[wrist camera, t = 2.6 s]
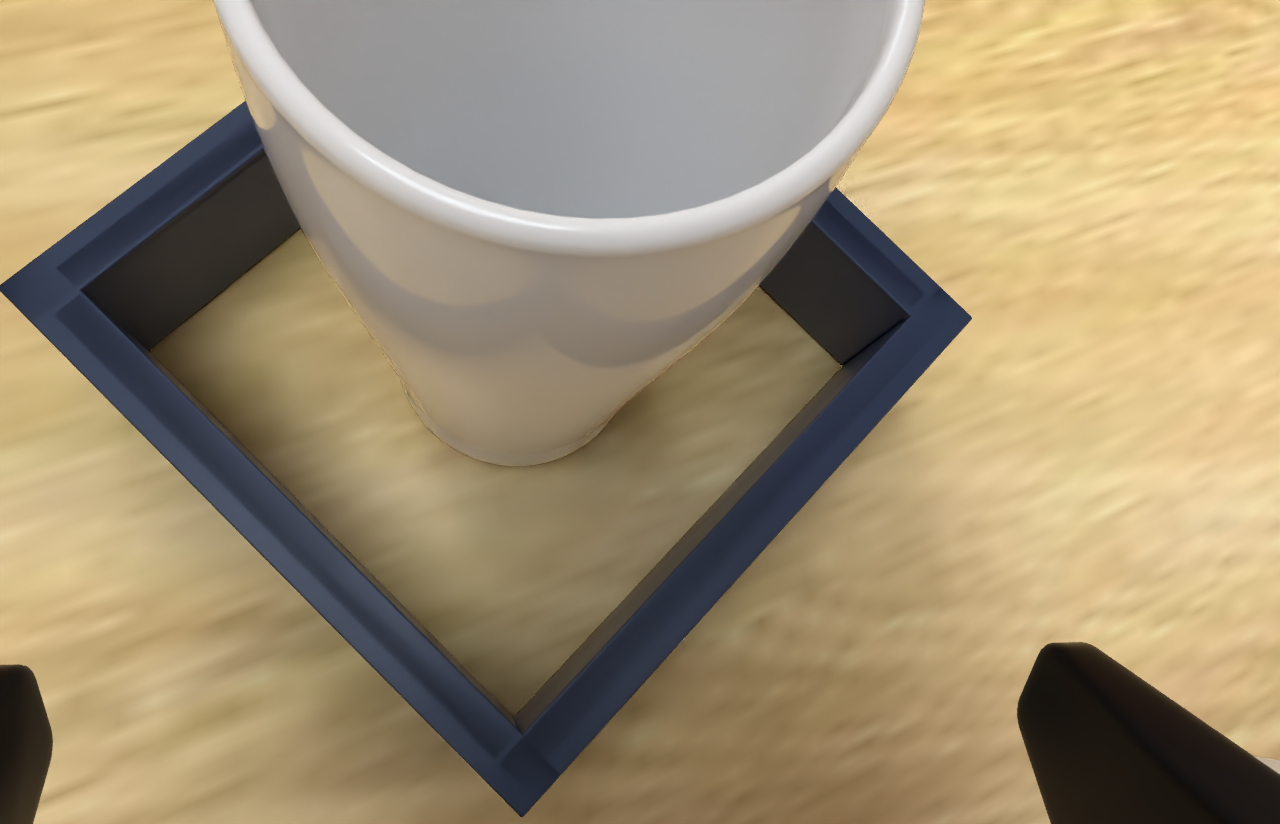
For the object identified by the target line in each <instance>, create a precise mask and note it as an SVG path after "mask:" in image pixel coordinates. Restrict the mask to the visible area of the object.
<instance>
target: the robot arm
mask: <svg viewBox="0 0 1280 824" xmlns="http://www.w3.org/2000/svg"><path fill="white" fill-rule="evenodd" d="M1017 717H1018V724H1019V728H1020V731H1021V734H1022V737H1023V740H1024V743H1025V746H1026V749H1027V752H1028V756H1029V759H1030V762H1031V765H1032V768H1033V771H1034V774H1035V777H1036V780H1037V783H1038V786H1039V789H1040V792H1041V795H1042V798H1043V801H1044V804H1045V807H1046V810H1047V813H1048V816H1049V819H1050V822H1051V824H1280V774H1279V773H1277V772H1276V771H1274V770H1273V769H1271V768H1270V767H1268V766H1267V765H1266V764H1264V763H1263V762H1261V761H1260V760H1258V759H1257V758H1255V757H1254V756H1253V755H1251V754H1250V753H1248V752H1247V751H1245V750H1244V749H1242V748H1241V747H1239V746H1238V745H1237V744H1235V743H1234V742H1232V741H1231V740H1229V739H1228V738H1226V737H1225V736H1224V735H1222V734H1221V733H1219V732H1218V731H1216V730H1215V729H1213V728H1212V727H1211V726H1209V725H1208V724H1206V723H1205V722H1203V721H1202V720H1200V719H1199V718H1197V717H1196V716H1195V715H1193V714H1192V713H1190V712H1189V711H1187V710H1186V709H1184V708H1183V707H1182V706H1180V705H1179V704H1177V703H1176V702H1174V701H1173V700H1171V699H1170V698H1169V697H1167V696H1166V695H1164V694H1163V693H1161V692H1160V691H1158V690H1157V689H1155V688H1154V687H1153V686H1151V685H1150V684H1148V683H1147V682H1145V681H1144V680H1142V679H1141V678H1140V677H1138V676H1137V675H1135V674H1134V673H1132V672H1131V671H1129V670H1128V669H1126V668H1125V667H1124V666H1122V665H1121V664H1119V663H1118V662H1116V661H1115V660H1113V659H1112V658H1111V657H1109V656H1108V655H1106V654H1105V653H1103V652H1102V651H1100V650H1099V649H1097V648H1096V647H1094V646H1093V645H1090V644H1088V643H1083V642H1071V643H1050V644H1047V645H1046V646H1045V647H1044V648H1042V649H1041V651H1040V652H1039V654H1038V656H1037V659H1036V661H1035V663H1034V666H1033V668H1032V670H1031V673H1030V675H1029V677H1028V679H1027V682H1026V684H1025V686H1024V689H1023V691H1022V693H1021V696H1020V698H1019V701H1018V708H1017ZM52 747H53V738H52V731H51V727H50V723H49V720H48V717H47V714H46V710H45V707H44V704H43V700H42V697H41V694H40V691H39V687H38V684H37V681H36V678H35V676H34V673H33V672H32V671H31V670H30V668H28V667H27V666H23V665H0V824H33V822H34V818H35V815H36V811H37V807H38V804H39V800H40V797H41V793H42V790H43V786H44V782H45V779H46V775H47V772H48V768H49V765H50V761H51V755H52Z"/></svg>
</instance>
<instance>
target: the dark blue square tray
mask: <svg viewBox="0 0 1280 824" xmlns="http://www.w3.org/2000/svg"><path fill="white" fill-rule="evenodd" d="M299 228H300V226H299V224H298V222H297V220H296V218H295V216H294V214H293V212H292V210H291V208H290V206H289V204H288V202H287V200H286V198H285V195H284V193H283V191H282V189H281V187H280V185H279V183H278V181H277V178H276V176H275V174H274V172H273V170H272V168H271V165H270V163H269V160H268V158H267V155H266V153H265V151H264V148H263V146H262V143H261V141H260V138H259V135H258V133H257V130H256V127H255V125H254V122H253V119H252V117H251V114H250V111H249V108H248V105H247V103H246V101H245V102H243V103H242V104H241V105H239V106H238V107H237V108H235V109H234V110H233V111H231V112H230V113H229V114H227V115H226V116H225V117H223V118H222V119H221V120H219V121H218V122H217V123H215V124H214V125H213V126H211V127H210V128H209V129H207V130H206V131H205V132H203V133H202V134H201V135H199V136H198V137H197V138H195V139H194V140H193V141H191V142H190V143H189V144H187V145H186V146H185V147H183V148H182V149H181V150H179V151H178V152H177V153H175V154H174V155H173V156H171V157H170V158H169V159H167V160H166V161H165V162H163V163H162V164H161V165H159V166H158V167H157V168H155V169H154V170H153V171H151V172H150V173H149V174H147V175H146V176H145V177H143V178H142V179H141V180H139V181H138V182H137V183H135V184H134V185H133V186H131V187H130V188H129V189H127V190H126V191H125V192H123V193H122V194H121V195H119V196H118V197H117V198H115V199H114V200H113V201H111V202H110V203H109V204H107V205H106V206H105V207H104V208H102V209H101V210H100V211H98V212H97V213H96V214H94V215H93V216H92V217H90V218H89V219H88V220H86V221H85V222H84V223H82V224H81V225H80V226H78V227H77V228H76V229H74V230H73V231H72V232H70V233H69V234H68V235H66V236H65V237H64V238H62V239H61V240H60V241H58V242H57V243H56V244H54V245H53V246H52V247H50V248H49V249H48V250H46V251H45V252H44V253H42V254H41V255H40V256H38V257H37V258H36V259H34V260H33V261H32V262H30V263H29V264H28V265H26V266H25V267H24V268H22V269H21V270H20V271H18V272H17V273H16V274H14V275H13V276H12V277H10V278H9V279H8V280H6V281H5V282H4V283H2V284H1V285H0V291H1V292H2V293H3V294H4V295H5V296H6V297H7V298H8V299H9V300H10V301H11V302H12V303H13V304H14V305H15V306H16V307H17V309H18V310H19V311H20V312H21V313H22V314H23V315H24V316H25V317H26V318H27V319H28V320H29V321H30V322H31V323H32V324H33V325H34V326H35V327H36V328H37V329H38V330H39V331H40V332H41V333H42V334H43V335H44V336H45V337H46V338H47V339H48V340H49V341H50V342H51V343H52V344H53V345H54V346H55V347H56V348H57V349H58V350H59V351H60V352H61V353H62V354H63V355H64V356H65V357H66V358H67V359H68V360H69V361H70V362H71V363H72V364H73V365H74V366H75V367H76V368H77V369H78V370H79V371H80V372H81V373H82V374H83V375H84V376H85V377H86V378H87V379H88V380H89V381H90V382H91V383H92V384H93V385H94V386H95V387H96V388H97V389H98V390H99V391H100V392H101V393H102V394H103V395H104V396H105V397H106V398H107V399H108V400H109V401H110V402H111V403H112V404H113V405H114V406H115V408H116V409H117V410H118V411H119V412H120V413H121V414H122V415H123V416H124V417H125V418H126V419H127V420H128V421H129V422H130V423H131V424H132V425H133V426H134V427H135V428H136V429H137V430H138V431H139V432H140V433H141V434H142V435H143V436H144V437H145V438H146V439H147V440H148V441H149V442H150V443H151V444H152V445H153V446H154V447H155V448H156V449H157V450H158V451H159V452H160V453H161V454H162V455H163V456H164V457H165V458H166V459H167V460H168V461H169V462H170V463H171V464H172V465H173V466H174V467H175V468H176V469H177V470H178V471H179V472H180V473H181V474H182V475H183V476H184V477H185V478H186V479H187V480H188V481H189V482H190V483H191V484H192V485H193V486H194V487H195V488H196V489H197V490H198V491H199V492H200V493H201V494H202V495H203V496H204V497H205V498H206V499H207V500H208V501H209V502H210V503H211V504H212V506H213V507H214V508H215V509H216V510H217V511H218V512H219V513H220V514H221V515H222V516H223V517H224V518H225V519H226V520H227V521H228V522H229V523H230V524H231V525H232V526H233V527H234V528H235V529H236V530H237V531H238V532H239V533H240V534H241V535H242V536H243V537H244V538H245V539H246V540H247V541H248V542H249V543H250V544H251V545H252V546H253V547H254V548H255V549H256V550H257V551H258V552H259V553H260V554H261V555H262V556H263V557H264V558H265V559H266V560H267V561H268V562H269V563H270V564H271V565H272V566H273V567H274V568H275V569H276V570H277V571H278V572H279V573H280V574H281V575H282V576H283V577H284V578H285V579H286V580H287V581H288V582H289V583H290V584H291V585H292V586H293V587H294V588H295V589H296V590H297V591H298V592H299V593H300V594H301V595H302V596H303V597H304V598H305V599H306V600H307V601H308V602H309V603H310V605H311V606H312V607H313V608H314V609H315V610H316V611H317V612H318V613H319V614H320V615H321V616H322V617H323V618H324V619H325V620H326V621H327V622H328V623H329V624H330V625H331V626H332V627H333V628H334V629H335V630H336V631H337V632H338V633H339V634H340V635H341V636H342V637H343V638H344V639H345V640H346V641H347V642H348V643H349V644H350V645H351V646H352V647H353V648H354V649H355V650H356V651H357V652H358V653H359V654H360V655H361V656H362V657H363V658H364V659H365V660H366V661H367V662H368V663H369V664H370V665H371V666H372V667H373V668H374V669H375V670H376V671H377V672H378V673H379V674H380V675H381V676H382V677H383V678H384V679H385V680H386V681H387V682H388V683H389V684H390V685H391V686H392V687H393V688H394V689H395V690H396V691H397V692H398V693H399V694H400V695H401V696H402V697H403V698H404V699H405V700H406V701H407V702H408V704H409V705H410V706H411V707H412V708H413V709H414V710H415V711H416V712H417V713H418V714H419V715H420V716H421V717H422V718H423V719H424V720H425V721H426V722H427V723H428V724H429V725H430V726H431V727H432V728H433V729H434V730H435V731H436V732H437V733H438V734H439V735H440V736H441V737H442V738H443V739H444V740H445V741H446V742H447V743H448V744H449V745H450V746H451V747H452V748H453V749H454V750H455V751H456V752H457V753H458V754H459V755H460V756H461V757H462V758H463V759H464V760H465V761H466V762H467V763H468V764H469V765H470V766H471V767H472V768H473V769H474V770H475V771H476V772H477V773H478V774H479V775H480V776H481V777H482V778H483V779H484V780H485V781H486V782H487V783H488V784H489V785H490V786H491V787H492V788H493V789H494V790H495V791H496V792H497V793H498V794H499V795H500V796H501V797H502V798H503V799H504V800H505V802H506V803H507V804H508V805H509V806H510V807H511V808H512V809H513V810H514V811H515V812H516V813H517V814H518V815H519V816H520V817H523V816H524V815H525V814H526V813H527V812H528V811H529V810H530V809H531V808H532V806H533V805H534V804H535V803H536V802H537V801H538V800H539V799H540V798H541V796H542V795H543V794H544V793H545V792H546V791H547V790H548V789H549V788H550V786H551V785H552V784H553V783H554V782H555V781H556V780H557V779H558V778H559V776H560V775H561V774H562V773H563V772H564V771H565V770H566V769H567V768H568V766H569V765H570V764H571V763H572V762H573V761H574V760H575V759H576V758H577V756H578V755H579V754H580V753H581V752H582V751H583V750H584V749H585V748H586V747H587V745H588V744H589V743H590V742H591V741H592V740H593V739H594V738H595V737H596V735H597V734H598V733H599V732H600V731H601V730H602V729H603V728H604V727H605V725H606V724H607V723H608V722H609V721H610V720H611V719H612V718H613V717H614V715H615V714H616V713H617V712H618V711H619V710H620V709H621V708H622V707H623V705H624V704H625V703H626V702H627V701H628V700H629V699H630V698H631V697H632V695H633V694H634V693H635V692H636V691H637V690H638V689H639V688H640V687H641V685H642V684H643V683H644V682H645V681H646V680H647V679H648V678H649V677H650V676H651V674H652V673H653V672H654V671H655V670H656V669H657V668H658V667H659V666H660V664H661V663H662V662H663V661H664V660H665V659H666V658H667V657H668V656H669V654H670V653H671V652H672V651H673V650H674V649H675V648H676V647H677V646H678V644H679V643H680V642H681V641H682V640H683V639H684V638H685V637H686V636H687V634H688V633H689V632H690V631H691V630H692V629H693V628H694V627H695V626H696V624H697V623H698V622H699V621H700V620H701V619H702V618H703V617H704V616H705V614H706V613H707V612H708V611H709V610H710V609H711V608H712V607H713V606H714V604H715V603H716V602H717V601H718V600H719V599H720V598H721V597H722V596H723V595H724V593H725V592H726V591H727V590H728V589H729V588H730V587H731V586H732V585H733V583H734V582H735V581H736V580H737V579H738V578H739V577H740V576H741V575H742V573H743V572H744V571H745V570H746V569H747V568H748V567H749V566H750V565H751V563H752V562H753V561H754V560H755V559H756V558H757V557H758V556H759V555H760V553H761V552H762V551H763V550H764V549H765V548H766V547H767V546H768V545H769V543H770V542H771V541H772V540H773V539H774V538H775V537H776V536H777V535H778V533H779V532H780V531H781V530H782V529H783V528H784V527H785V526H786V525H787V524H788V522H789V521H790V520H791V519H792V518H793V517H794V516H795V515H796V514H797V512H798V511H799V510H800V509H801V508H802V507H803V506H804V505H805V504H806V502H807V501H808V500H809V499H810V498H811V497H812V496H813V495H814V494H815V492H816V491H817V490H818V489H819V488H820V487H821V486H822V485H823V484H824V482H825V481H826V480H827V479H828V478H829V477H830V476H831V475H832V474H833V472H834V471H835V470H836V469H837V468H838V467H839V466H840V465H841V464H842V462H843V461H844V460H845V459H846V458H847V457H848V456H849V455H850V454H851V453H852V451H853V450H854V449H855V448H856V447H857V446H858V445H859V444H860V443H861V441H862V440H863V439H864V438H865V437H866V436H867V435H868V434H869V433H870V431H871V430H872V429H873V428H874V427H875V426H876V425H877V424H878V423H879V421H880V420H881V419H882V418H883V417H884V416H885V415H886V414H887V413H888V411H889V410H890V409H891V408H892V407H893V406H894V405H895V404H896V403H897V401H898V400H899V399H900V398H901V397H902V396H903V395H904V394H905V393H906V391H907V390H908V389H909V388H910V387H911V386H912V385H913V384H914V383H915V382H916V380H917V379H918V378H919V377H920V376H921V375H922V374H923V373H924V372H925V370H926V369H927V368H928V367H929V366H930V365H931V364H932V363H933V362H934V360H935V359H936V358H937V357H938V356H939V355H940V354H941V353H942V352H943V350H944V349H945V348H946V347H947V346H948V345H949V344H950V343H951V342H952V340H953V339H954V338H955V337H956V336H957V335H958V334H959V333H960V332H961V330H962V329H963V328H964V327H965V326H966V325H967V324H968V323H969V322H970V320H971V319H972V317H971V316H970V315H969V314H968V313H967V312H966V311H965V310H964V309H963V308H962V307H961V306H959V305H958V304H957V303H956V302H955V301H954V300H953V299H952V298H951V297H950V296H949V295H948V294H947V293H946V292H945V291H944V290H943V289H942V288H941V287H940V286H939V285H937V284H936V283H935V282H934V281H933V280H932V279H931V278H930V277H929V276H928V275H927V274H926V273H925V272H924V271H923V270H922V269H921V268H920V267H919V266H918V265H917V264H915V263H914V262H913V261H912V260H911V259H910V258H909V257H908V256H907V255H906V254H905V253H904V252H903V251H902V250H901V249H900V248H899V247H898V246H897V245H896V244H894V243H893V242H892V241H891V240H890V239H889V238H888V237H887V236H886V235H885V234H884V233H883V232H882V231H881V230H880V229H879V228H878V227H877V226H876V225H875V224H874V223H872V222H871V221H870V220H869V219H868V218H867V217H866V216H865V215H864V214H863V213H862V212H861V211H860V210H859V209H858V208H857V207H856V206H855V205H854V204H853V203H852V202H850V201H849V200H848V199H847V198H846V197H845V196H844V195H843V194H842V193H841V192H840V191H839V190H838V189H837V188H836V187H835V189H834V190H833V192H832V193H831V194H830V196H829V197H828V199H827V200H826V202H825V203H824V204H823V206H822V207H821V209H820V210H819V212H818V213H817V215H816V216H815V217H814V219H813V220H812V222H811V223H810V224H809V226H808V227H807V228H806V230H805V231H804V232H803V234H802V235H801V236H800V238H799V239H798V240H797V241H796V243H795V244H794V245H793V247H792V248H791V249H790V250H789V252H788V253H787V254H786V255H785V256H784V258H783V259H782V260H781V261H780V262H779V263H778V265H777V266H776V267H775V268H774V269H773V271H772V272H771V273H770V274H769V275H768V276H767V277H766V279H765V280H764V281H763V282H762V283H761V284H760V286H761V287H762V288H763V289H764V290H765V291H766V292H767V293H768V294H769V295H770V296H771V297H772V298H773V299H774V300H775V301H776V302H777V303H778V304H779V305H781V306H782V307H783V308H784V309H785V310H786V311H787V312H788V313H789V314H790V315H791V316H792V317H793V318H794V319H795V320H796V321H797V322H798V323H799V324H800V325H801V326H802V327H803V328H804V329H805V330H806V331H807V332H809V333H810V334H811V335H812V336H813V337H814V338H815V339H816V340H817V341H818V342H819V343H820V344H821V345H822V346H823V347H824V348H825V349H826V350H827V351H828V352H829V353H830V354H831V355H832V356H833V357H834V358H835V359H837V360H838V361H839V362H840V363H841V364H844V365H843V367H842V368H841V369H840V370H839V371H838V372H837V373H836V374H835V375H834V376H833V377H832V378H831V379H830V380H829V381H828V383H827V384H826V385H825V386H824V387H823V388H822V389H821V390H820V391H819V392H818V393H817V394H816V395H815V396H814V397H813V399H812V400H811V401H810V402H809V403H808V404H807V405H806V406H805V407H804V408H803V409H802V410H801V411H800V412H799V413H798V415H797V416H796V417H795V418H794V419H793V420H792V421H791V422H790V423H789V424H788V425H787V426H786V427H785V428H784V429H783V431H782V432H781V433H780V434H779V435H778V436H777V437H776V438H775V439H774V440H773V441H772V442H771V443H770V444H769V445H768V447H767V448H766V449H765V450H764V451H763V452H762V453H761V454H760V455H759V456H758V457H757V458H756V459H755V460H754V461H753V463H752V464H751V465H750V466H749V467H748V468H747V469H746V470H745V471H744V472H743V473H742V474H741V475H740V476H739V477H738V479H737V480H736V481H735V482H734V483H733V484H732V485H731V486H730V487H729V488H728V489H727V490H726V491H725V492H724V493H723V495H722V496H721V497H720V498H719V499H718V500H717V501H716V502H715V503H714V504H713V505H712V506H711V507H710V508H709V509H708V511H707V512H706V513H705V514H704V515H703V516H702V517H701V518H700V519H699V520H698V521H697V522H696V523H695V524H694V525H693V527H692V528H691V529H690V530H689V531H688V532H687V533H686V534H685V535H684V536H683V537H682V538H681V539H680V540H679V541H678V543H677V544H676V545H675V546H674V547H673V548H672V549H671V550H670V551H669V552H668V553H667V554H666V555H665V556H664V557H663V559H662V560H661V561H660V562H659V563H658V564H657V565H656V566H655V567H654V568H653V569H652V570H651V571H650V572H649V573H648V575H647V576H646V577H645V578H644V579H643V580H642V581H641V582H640V583H639V584H638V585H637V586H636V587H635V588H634V589H633V591H632V592H631V593H630V594H629V595H628V596H627V597H626V598H625V599H624V600H623V601H622V602H621V603H620V604H619V605H618V607H617V608H616V609H615V610H614V611H613V612H612V613H611V614H610V615H609V616H608V617H607V618H606V619H605V620H604V621H603V623H602V624H601V625H600V626H599V627H598V628H597V629H596V630H595V631H594V632H593V633H592V634H591V635H590V636H589V638H588V639H587V640H586V641H585V642H584V643H583V644H582V645H581V646H580V647H579V648H578V649H577V650H576V651H575V652H574V654H573V655H572V656H571V657H570V658H569V659H568V660H567V661H566V662H565V663H564V664H563V665H562V666H561V667H560V668H559V670H558V671H557V672H556V673H555V674H554V675H553V676H552V677H551V678H550V679H549V680H548V681H547V682H546V683H545V684H544V686H543V687H542V688H541V689H540V690H539V691H538V692H537V693H536V694H535V695H534V696H533V697H532V698H531V699H530V700H529V702H528V703H527V704H526V705H525V706H524V707H523V708H522V709H521V710H520V711H519V712H518V713H517V714H516V715H515V716H514V718H513V716H512V715H511V714H510V713H509V712H508V711H507V710H506V709H505V708H504V707H503V706H502V705H501V704H500V703H499V702H498V701H497V700H496V699H495V698H494V697H493V696H492V695H491V694H490V693H489V692H488V691H487V690H486V689H485V688H484V687H483V686H482V685H481V684H480V683H479V682H478V681H477V680H476V679H475V678H474V677H473V676H472V675H471V674H470V673H469V672H468V671H467V670H466V669H465V668H464V667H463V666H462V665H461V664H460V663H459V662H458V661H457V659H456V658H455V657H454V656H453V655H452V654H451V653H450V652H449V651H448V650H447V649H446V648H445V647H444V646H443V645H442V644H441V643H440V642H439V641H438V640H437V639H436V638H435V637H434V636H433V635H432V634H431V633H430V632H429V631H428V630H427V629H426V628H425V627H424V626H423V625H422V624H421V623H420V622H419V621H418V620H417V619H416V618H415V617H414V616H413V615H412V614H411V613H410V612H409V611H408V610H407V609H406V608H405V607H404V606H403V605H402V604H401V603H400V602H399V601H398V600H397V599H396V598H395V597H394V596H393V595H392V594H391V593H390V592H389V591H388V590H387V589H386V588H385V587H384V586H383V585H382V584H381V583H380V582H379V581H378V580H377V579H376V578H375V577H374V576H373V575H372V574H371V573H370V572H369V571H368V570H367V569H366V568H365V567H364V566H363V565H362V564H361V563H360V562H359V561H358V560H357V559H356V558H355V557H354V556H353V555H352V554H351V553H350V552H349V551H348V550H347V549H346V548H345V547H344V546H343V545H342V544H341V543H340V542H339V541H338V540H337V539H336V538H335V537H334V536H333V535H332V534H331V533H330V532H329V531H328V530H327V529H326V528H325V527H324V526H323V525H322V524H321V523H320V522H319V521H318V520H317V519H316V518H315V517H314V516H313V515H312V514H311V513H310V512H309V511H308V510H307V509H306V508H305V507H304V506H303V505H302V504H301V503H300V502H299V501H298V500H297V499H296V498H295V497H294V496H293V495H292V494H291V493H290V492H289V491H288V490H287V489H286V488H285V487H284V486H283V485H282V484H281V483H280V482H279V481H278V480H277V479H276V478H275V477H274V476H273V475H272V474H271V473H270V472H269V471H268V470H267V469H266V468H265V467H264V466H263V465H262V464H261V463H260V462H259V461H258V460H257V459H256V458H255V457H254V456H253V455H252V454H251V453H250V452H249V451H248V450H247V449H246V448H245V447H244V446H243V445H242V443H241V442H240V441H239V440H238V439H237V438H236V437H235V436H234V435H233V434H232V433H231V432H230V431H229V430H228V429H227V428H226V427H225V426H224V425H223V424H222V423H221V422H220V421H219V420H218V419H217V418H216V417H215V416H214V415H213V414H212V413H211V412H210V411H209V410H208V409H207V408H206V407H205V406H204V405H203V404H202V403H201V402H200V401H199V400H198V399H197V398H196V397H195V396H194V395H193V394H192V393H191V392H190V391H189V390H188V389H187V388H186V387H185V386H184V385H183V384H182V383H181V382H180V381H179V380H178V379H177V378H176V377H175V376H174V375H173V374H172V373H171V372H170V371H169V370H168V369H167V368H166V367H165V366H164V365H163V364H162V363H161V362H160V361H159V360H158V359H157V358H156V357H155V356H154V355H153V354H152V353H151V352H150V351H149V350H150V349H151V348H152V347H153V346H155V345H156V344H157V343H158V342H160V341H161V340H162V339H163V338H165V337H166V336H167V335H168V334H169V333H171V332H172V331H173V330H174V329H176V328H177V327H178V326H179V325H181V324H182V323H183V322H184V321H185V320H187V319H188V318H189V317H190V316H192V315H193V314H194V313H195V312H197V311H198V310H199V309H200V308H202V307H203V306H204V305H205V304H206V303H208V302H209V301H210V300H211V299H213V298H214V297H215V296H216V295H218V294H219V293H220V292H221V291H222V290H224V289H225V288H226V287H227V286H229V285H230V284H231V283H232V282H234V281H235V280H236V279H237V278H239V277H240V276H241V275H242V274H243V273H245V272H246V271H247V270H248V269H250V268H251V267H252V266H253V265H255V264H256V263H257V262H258V261H259V260H261V259H262V258H263V257H264V256H266V255H267V254H268V253H269V252H271V251H272V250H273V249H274V248H276V247H277V246H278V245H279V244H280V243H282V242H283V241H284V240H285V239H287V238H288V237H289V236H290V235H292V234H293V233H294V232H295V231H296V230H298V229H299Z"/></svg>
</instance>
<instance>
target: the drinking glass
mask: <svg viewBox="0 0 1280 824" xmlns="http://www.w3.org/2000/svg"><path fill="white" fill-rule="evenodd" d="M213 3H214V6H215V9H216V12H217V14H218V17H219V21H220V24H221V27H222V30H223V34H224V37H225V40H226V43H227V47H228V50H229V53H230V56H231V59H232V62H233V65H234V68H235V71H236V74H237V77H238V80H239V83H240V86H241V89H242V91H243V94H244V97H245V100H246V103H247V105H248V108H249V111H250V114H251V117H252V119H253V122H254V125H255V127H256V130H257V133H258V135H259V138H260V141H261V143H262V146H263V148H264V151H265V153H266V155H267V158H268V160H269V163H270V165H271V168H272V170H273V172H274V174H275V176H276V178H277V181H278V183H279V185H280V187H281V189H282V191H283V193H284V195H285V198H286V200H287V202H288V204H289V206H290V208H291V210H292V212H293V214H294V216H295V218H296V220H297V222H298V224H299V226H300V228H301V230H302V232H303V234H304V235H305V237H306V239H307V241H308V242H309V244H310V246H311V247H312V249H313V251H314V252H315V254H316V256H317V257H318V259H319V261H320V262H321V264H322V265H323V267H324V269H325V270H326V272H327V273H328V275H329V277H330V278H331V280H332V281H333V283H334V284H335V286H336V287H337V289H338V290H339V292H340V293H341V295H342V296H343V298H344V299H345V300H346V302H347V303H348V305H349V306H350V308H351V309H352V310H353V312H354V313H355V315H356V316H357V317H358V319H359V320H360V322H361V323H362V325H363V326H364V327H365V329H366V330H367V332H368V333H369V334H370V336H371V337H372V339H373V340H374V342H375V343H376V344H377V346H378V347H379V349H380V350H381V352H382V353H383V355H384V356H385V358H386V359H387V360H388V362H389V363H390V365H391V366H392V368H393V369H394V371H395V372H396V374H397V375H398V377H399V378H400V381H401V383H402V386H403V389H404V392H405V394H406V396H407V398H408V400H409V402H410V404H411V406H412V407H413V409H414V411H415V412H416V414H417V415H418V416H419V418H420V419H421V420H422V422H423V423H424V424H425V425H426V426H427V427H428V428H429V429H430V431H431V432H432V433H433V434H435V435H436V436H437V437H438V438H439V439H440V440H442V441H443V442H444V443H446V444H447V445H449V446H450V447H452V448H453V449H455V450H457V451H459V452H460V453H463V454H465V455H467V456H469V457H471V458H474V459H477V460H480V461H483V462H487V463H492V464H497V465H505V466H529V465H536V464H542V463H546V462H550V461H553V460H556V459H559V458H562V457H564V456H566V455H568V454H570V453H572V452H574V451H576V450H578V449H579V448H581V447H583V446H584V445H585V444H587V443H588V442H589V441H591V440H592V439H593V438H595V437H596V436H597V435H598V434H599V433H600V432H601V431H602V430H603V429H604V428H605V427H606V425H607V424H608V423H609V422H610V421H611V419H612V418H613V417H614V415H615V414H616V412H617V411H618V410H619V409H620V408H622V407H623V406H624V405H625V404H626V403H628V402H629V401H630V400H631V399H632V398H633V397H635V396H636V395H637V394H638V393H640V392H641V391H642V390H643V389H644V388H646V387H647V386H648V385H649V384H650V383H652V382H653V381H654V380H655V379H657V378H658V377H659V376H660V375H662V374H663V373H664V372H665V371H667V370H668V369H669V368H670V367H672V366H673V365H674V364H675V363H676V362H678V361H679V360H680V359H681V358H683V357H684V356H685V355H686V354H688V353H689V352H690V351H691V350H693V349H694V348H695V347H696V346H697V345H698V344H700V343H701V342H702V341H703V340H704V339H705V338H707V337H708V336H709V335H710V334H711V333H712V332H713V331H714V330H716V329H717V328H718V327H719V326H720V325H721V324H722V323H723V322H724V321H725V320H726V319H727V318H728V317H729V316H731V315H732V314H733V313H734V312H735V311H736V310H737V309H738V308H739V307H740V306H741V305H742V304H743V303H744V302H745V301H746V300H747V299H748V298H749V296H750V295H751V294H752V293H753V292H754V291H755V290H756V289H757V288H758V287H759V285H760V284H761V283H762V282H763V281H764V280H765V279H766V277H767V276H768V275H769V274H770V273H771V272H772V271H773V269H774V268H775V267H776V266H777V265H778V263H779V262H780V261H781V260H782V259H783V258H784V256H785V255H786V254H787V253H788V252H789V250H790V249H791V248H792V247H793V245H794V244H795V243H796V241H797V240H798V239H799V238H800V236H801V235H802V234H803V232H804V231H805V230H806V228H807V227H808V226H809V224H810V223H811V222H812V220H813V219H814V217H815V216H816V215H817V213H818V212H819V210H820V209H821V207H822V206H823V204H824V203H825V202H826V200H827V199H828V197H829V196H830V194H831V193H832V192H833V190H834V189H835V187H836V186H837V184H838V183H839V181H840V180H841V179H842V177H843V176H844V174H845V173H846V171H847V170H848V168H849V167H850V165H851V164H852V162H853V161H854V159H855V157H856V156H857V154H858V153H859V151H860V150H861V148H862V147H863V145H864V144H865V142H866V140H867V139H868V138H869V137H870V135H871V134H872V132H873V131H874V129H875V128H876V126H877V125H878V124H879V122H880V121H881V119H882V118H883V116H884V115H885V113H886V112H887V110H888V108H889V106H890V105H891V103H892V101H893V99H894V97H895V95H896V93H897V92H898V90H899V88H900V86H901V84H902V82H903V79H904V77H905V74H906V72H907V69H908V67H909V64H910V62H911V59H912V56H913V54H914V50H915V46H916V43H917V39H918V35H919V31H920V28H921V24H922V17H923V11H924V4H925V0H213Z"/></svg>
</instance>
